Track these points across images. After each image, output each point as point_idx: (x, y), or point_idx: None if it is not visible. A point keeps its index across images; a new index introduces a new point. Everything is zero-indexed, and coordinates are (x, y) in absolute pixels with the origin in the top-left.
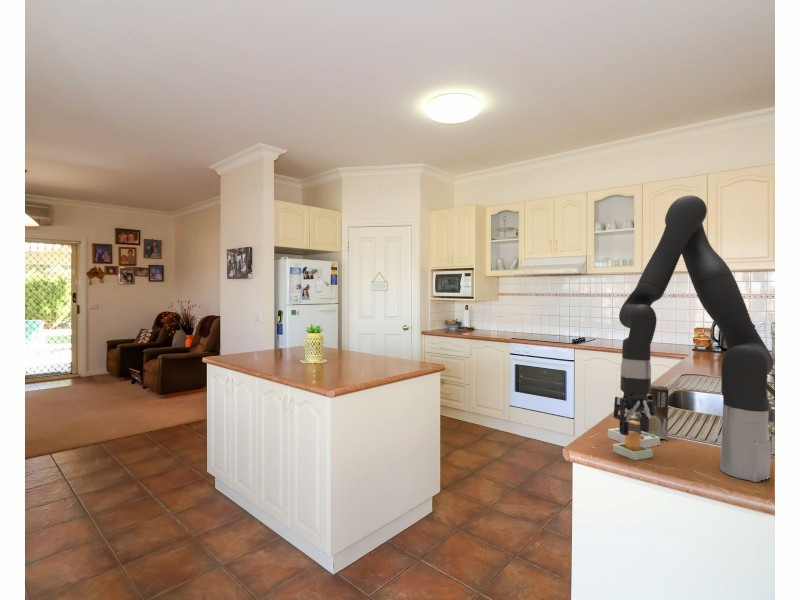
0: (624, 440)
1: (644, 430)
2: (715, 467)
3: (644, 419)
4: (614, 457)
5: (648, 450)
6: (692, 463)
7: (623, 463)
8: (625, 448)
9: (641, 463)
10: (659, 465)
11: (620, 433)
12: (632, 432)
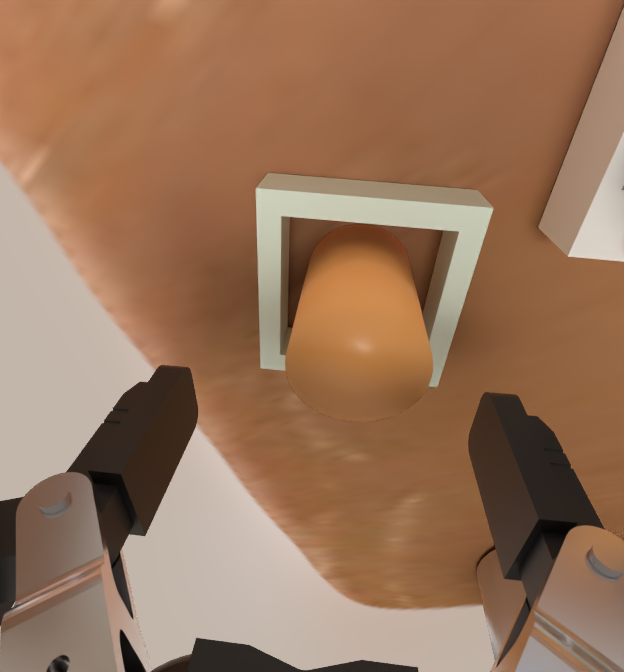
0: (619, 57)
1: (473, 432)
2: None
3: (511, 543)
4: (182, 261)
5: None
6: None
7: (163, 338)
8: (274, 295)
9: (264, 376)
10: (330, 422)
11: (164, 367)
12: (372, 360)
